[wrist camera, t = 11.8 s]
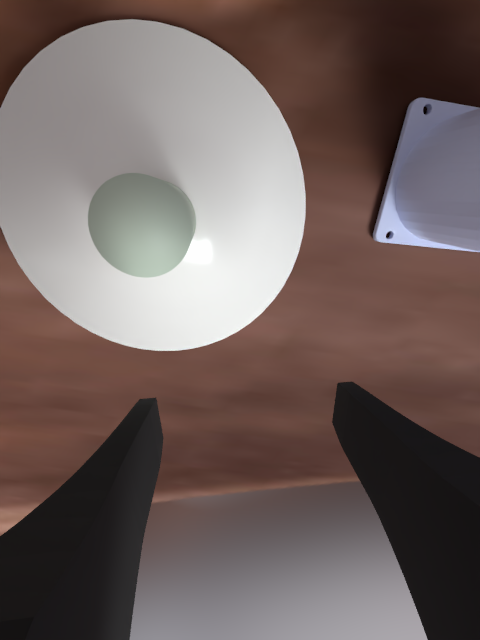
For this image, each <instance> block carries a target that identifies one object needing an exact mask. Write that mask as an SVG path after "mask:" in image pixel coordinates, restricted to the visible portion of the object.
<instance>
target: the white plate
mask: <svg viewBox="0 0 480 640" xmlns="http://www.w3.org/2000/svg"><path fill="white" fill-rule="evenodd" d="M125 173H141V174H146V175H149V176H152V177H155V178H158V179H161V180H164V181H167V182H170V183H172V184H174V185H176V186H177V187H179V188H180V189H181V190H182V191H183V192H184V193H185V194H186V195H187V197H188V198H189V199H190V201H191V203H192V205H193V207H194V210H195V214H196V230H195V234H194V236H193V239H192V241H191V244H190V246H189V249H188V251H187V253H186V255H185V257H184V258H183V260H182V261H181V262H180V263H179V264H178V265H177V266H176V267H175V268H174V269H173V270H171V271H169V272H168V273H166V274H163V275H160V276H156V277H149V278H143V277H135V276H132V275H128V274H126V273H123V272H121V271H120V270H118V269H116V268H115V267H113V266H112V265H111V264H109V263H108V262H107V261H106V260H105V259H104V258H103V257H102V256H101V254H100V253H99V252H98V250H97V248H96V247H95V245H94V243H93V241H92V238H91V235H90V232H89V227H88V210H89V206H90V202H91V200H92V198H93V196H94V194H95V192H96V191H97V190H98V189H99V187H100V186H101V185H102V184H103V183H105V182H106V181H107V180H109V179H111V178H113V177H115V176H117V175H121V174H125ZM304 222H305V186H304V178H303V171H302V167H301V163H300V159H299V155H298V151H297V148H296V146H295V143H294V140H293V138H292V135H291V132H290V130H289V128H288V126H287V124H286V122H285V120H284V118H283V116H282V114H281V112H280V110H279V109H278V107H277V106H276V104H275V103H274V101H273V100H272V98H271V97H270V95H269V94H268V93H267V91H266V90H265V88H264V87H263V86H262V85H261V84H260V83H259V82H258V80H257V79H256V78H255V77H254V76H253V75H252V74H251V73H250V72H249V70H248V69H246V68H245V67H244V66H243V65H242V64H241V63H239V62H238V61H237V60H236V59H235V58H233V57H232V56H231V55H230V54H229V53H227V52H226V51H224V50H223V49H221V48H220V47H218V46H216V45H215V44H213V43H212V42H210V41H209V40H207V39H205V38H203V37H200V36H198V35H196V34H194V33H191V32H189V31H187V30H185V29H182V28H179V27H175V26H171V25H168V24H164V23H160V22H155V21H145V20H136V19H127V20H112V21H104V22H100V23H96V24H92V25H88V26H84V27H82V28H79V29H77V30H75V31H73V32H70V33H68V34H66V35H64V36H62V37H60V38H58V39H57V40H56V41H54V42H53V43H51V44H50V45H48V46H47V47H45V48H44V49H43V50H41V51H40V52H39V53H38V54H37V55H36V56H35V57H34V58H33V59H32V60H31V61H30V62H29V63H28V64H27V65H26V66H25V67H24V68H23V70H22V71H21V72H20V74H19V75H18V77H17V78H16V80H15V81H14V83H13V84H12V86H11V87H10V89H9V91H8V93H7V95H6V97H5V99H4V102H3V104H2V106H1V108H0V226H1V229H2V231H3V234H4V236H5V238H6V241H7V243H8V246H9V248H10V249H11V251H12V253H13V255H14V257H15V258H16V260H17V262H18V264H19V265H20V267H21V268H22V270H23V271H24V272H25V274H26V275H27V277H28V278H29V280H30V281H31V282H32V284H33V285H34V286H35V287H36V288H37V289H38V290H39V291H40V292H41V294H42V295H43V296H44V297H45V298H46V299H47V300H48V301H49V302H50V303H51V304H53V305H54V306H55V307H56V308H57V309H58V310H59V311H60V312H62V313H63V314H64V315H66V316H67V317H68V318H70V319H71V320H73V321H74V322H75V323H77V324H78V325H80V326H82V327H84V328H85V329H87V330H89V331H91V332H92V333H94V334H97V335H99V336H101V337H103V338H106V339H108V340H110V341H113V342H117V343H120V344H123V345H126V346H130V347H135V348H140V349H147V350H157V351H177V350H185V349H193V348H197V347H201V346H205V345H209V344H211V343H214V342H217V341H219V340H222V339H224V338H226V337H228V336H230V335H232V334H234V333H236V332H238V331H239V330H241V329H242V328H244V327H245V326H246V325H248V324H249V323H251V322H252V321H253V320H254V319H255V318H257V317H258V316H259V315H260V314H261V313H262V312H263V311H264V310H265V309H266V308H267V307H268V306H269V305H270V303H271V302H272V301H273V300H274V299H275V297H276V296H277V294H278V293H279V292H280V290H281V289H282V287H283V286H284V284H285V282H286V280H287V278H288V276H289V275H290V273H291V271H292V269H293V266H294V263H295V261H296V258H297V255H298V253H299V249H300V245H301V241H302V237H303V230H304Z"/></svg>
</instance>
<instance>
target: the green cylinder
mask: <svg viewBox="0 0 480 640" xmlns="http://www.w3.org/2000/svg"><path fill="white" fill-rule="evenodd" d="M88 227H89V232H90V235H91V238H92V241H93V243H94V245H95V247H96V248H97V250H98V252H99V253H100V254H101V256H102V257H103V258H104V259H105V260H106V261H107V262H108V263H109V264H111V265H112V266H113V267H115V268H116V269H118V270H120V271H121V272H123V273H126V274H128V275H132V276H135V277H143V278H149V277H156V276H160V275H163V274H166V273H168V272H169V271H171V270H173V269H174V268H175V267H176V266H177V265H178V264H179V263H180V262H181V261H182V260H183V258H184V257H185V255H186V253H187V251H188V249H189V246H190V244H191V241H192V239H193V236H194V234H195V230H196V214H195V210H194V207H193V205H192V203H191V201H190V199H189V198H188V197H187V195H186V194H185V193H184V192H183V191H182V190H181V189H180V188H179V187H177V186H176V185H174V184H172V183H170V182H167V181H164V180H161V179H158V178H155V177H152V176H149V175H146V174H141V173H125V174H121V175H117V176H115V177H113V178H111V179H109V180H107V181H106V182H105V183H103V184H102V185H101V186H100V187H99V189H98V190H97V191H96V192H95V194H94V196H93V198H92V200H91V202H90V206H89V210H88Z"/></svg>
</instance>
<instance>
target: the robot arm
mask: <svg viewBox="0 0 480 640" xmlns="http://www.w3.org/2000/svg"><path fill="white" fill-rule="evenodd" d="M424 106H426V107H427V113H426V115H425V114H424V113H423V108H424ZM388 232H390V236H389V237H388V238H386V234H387V233H388ZM373 238H374V240H375V241H378V242H384V243H394V244H404V245H414V246H424V247H434V248H444V249H453V250H463V251H473V252H480V108H478V107H473V106H467V105H461V104H456V103H450V102H444V101H439V100H433V99H427V98H417V99H415V100H414V101H412V102H411V103H410V104H409V107H408V109H407V113H406V116H405V120H404V124H403V127H402V131H401V134H400V138H399V142H398V145H397V149H396V152H395V156H394V160H393V163H392V167H391V170H390V174H389V178H388V181H387V185H386V189H385V192H384V196H383V199H382V203H381V207H380V210H379V214H378V217H377V221H376V225H375V228H374V232H373ZM332 423H333V425H334V428H335V431H336V434H337V436H338V439H339V441H340V443H341V446H342V448H343V450H344V452H345V454H346V455H347V457H348V459H349V461H350V463H351V465H352V467H353V469H354V470H355V472H356V474H357V476H358V478H359V480H360V481H361V483H362V485H363V487H364V488H365V490H366V492H367V494H368V496H369V497H370V500H371V502H372V504H373V506H374V508H375V510H376V512H377V514H378V516H379V518H380V520H381V523H382V525H383V527H384V530H385V532H386V534H387V536H388V538H389V541H390V543H391V546H392V548H393V551H394V553H395V555H396V558H397V560H398V562H399V565H400V568H401V570H402V573H403V575H404V577H405V580H406V583H407V585H408V588H409V590H410V593H411V595H412V598H413V601H414V603H415V606H416V609H417V611H418V614H419V616H420V619H421V622H422V625H423V627H424V630H425V633H426V636H427V639H428V640H480V458H479V457H477V456H475V455H473V454H471V453H469V452H467V451H465V450H463V449H461V448H459V447H457V446H455V445H453V444H451V443H449V442H447V441H445V440H444V439H442V438H440V437H438V436H436V435H434V434H433V433H431V432H429V431H428V430H426V429H424V428H423V427H421V426H419V425H418V424H416V423H414V422H413V421H411V420H409V419H408V418H406V417H405V416H403V415H401V414H400V413H398V412H397V411H395V410H394V409H392V408H391V407H389V406H388V405H386V404H385V403H383V402H382V401H380V400H379V399H377V398H376V397H375V396H373V395H372V394H370V393H369V392H367V391H366V390H364V389H363V388H361V387H360V386H358V385H357V384H355V383H353V382H343V383H338V384H337V391H336V399H335V406H334V413H333V421H332ZM162 446H163V433H162V428H161V422H160V417H159V411H158V405H157V400H156V398H148V399H140V400H139V401H138V402H137V403H136V404H135V406H134V407H133V408H132V409H131V411H130V412H129V413H128V414H127V416H126V417H125V418H124V419H123V421H122V422H121V423H120V424H119V425H118V427H117V428H116V429H115V430H114V431H113V433H112V434H111V435H110V436H109V437H108V438H107V440H106V441H105V442H104V443H103V444H102V445H101V446H100V448H99V449H98V450H97V451H96V452H95V453H94V454H93V455H92V456H91V457H90V458H89V459H88V460H87V461H86V463H85V464H84V465H83V466H82V467H81V468H80V469H79V470H78V471H77V472H76V473H75V474H74V475H73V476H72V477H71V478H70V479H69V480H67V481H66V482H65V483H64V484H63V485H62V486H61V487H60V488H59V489H58V490H57V491H56V492H54V493H53V494H52V495H51V496H50V497H49V498H47V499H46V500H45V501H44V502H43V503H41V504H40V505H39V506H38V507H37V508H35V509H34V510H33V511H32V512H31V513H29V514H28V515H27V516H26V517H25V518H23V519H22V520H21V521H20V522H19V523H17V524H16V525H15V526H13V527H12V528H11V529H9V530H8V531H7V532H6V533H4V534H3V535H2V536H0V640H129V638H130V629H131V622H132V614H133V606H134V598H135V592H136V584H137V576H138V569H139V563H140V556H141V549H142V543H143V537H144V532H145V528H146V523H147V519H148V515H149V511H150V506H151V502H152V498H153V494H154V489H155V485H156V481H157V477H158V472H159V468H160V462H161V454H162Z"/></svg>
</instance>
